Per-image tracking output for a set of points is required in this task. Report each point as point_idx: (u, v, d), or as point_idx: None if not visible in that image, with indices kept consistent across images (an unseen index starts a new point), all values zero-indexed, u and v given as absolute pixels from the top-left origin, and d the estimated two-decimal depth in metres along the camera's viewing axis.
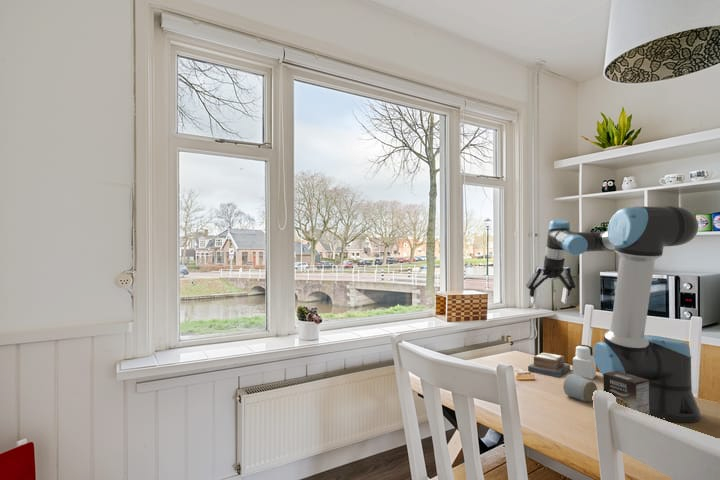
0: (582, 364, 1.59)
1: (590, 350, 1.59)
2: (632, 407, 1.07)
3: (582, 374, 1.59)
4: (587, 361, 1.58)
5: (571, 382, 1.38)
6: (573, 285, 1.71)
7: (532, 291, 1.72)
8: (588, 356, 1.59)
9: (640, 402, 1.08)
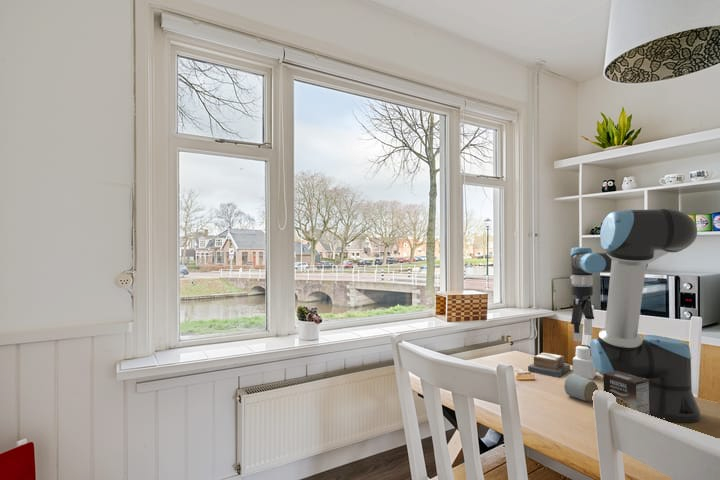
0: (582, 364, 1.59)
1: (590, 350, 1.60)
2: (632, 407, 1.08)
3: (582, 374, 1.59)
4: (587, 361, 1.58)
5: (572, 382, 1.38)
6: (592, 314, 1.68)
7: (578, 326, 1.57)
8: (588, 356, 1.59)
9: (640, 402, 1.08)
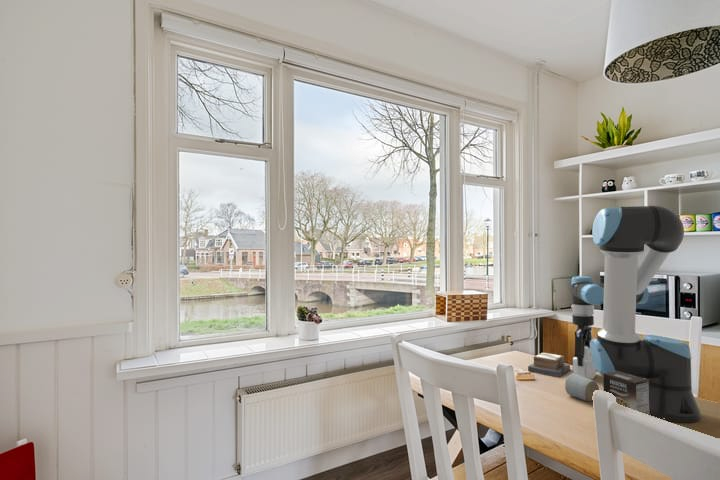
0: None
1: None
2: (632, 407, 1.08)
3: (582, 374, 1.59)
4: (587, 361, 1.58)
5: (573, 382, 1.38)
6: None
7: (581, 360, 1.58)
8: (588, 356, 1.59)
9: (640, 402, 1.08)
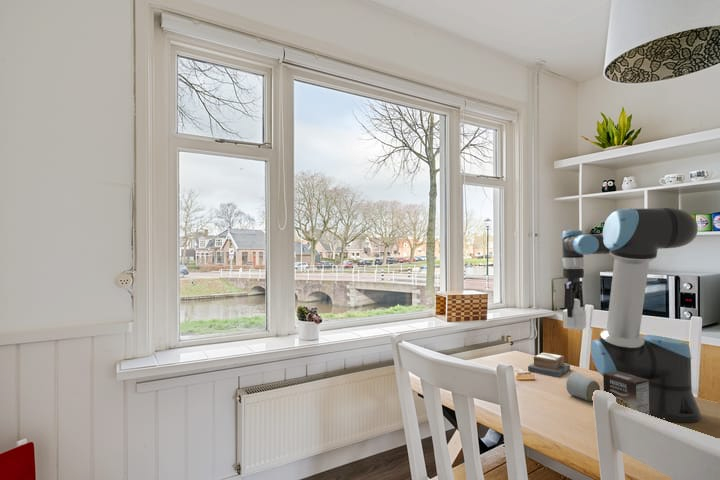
0: None
1: (580, 302, 1.62)
2: (632, 407, 1.08)
3: None
4: (577, 312, 1.61)
5: (574, 381, 1.38)
6: (582, 301, 1.68)
7: (571, 311, 1.61)
8: (578, 308, 1.62)
9: (640, 402, 1.08)
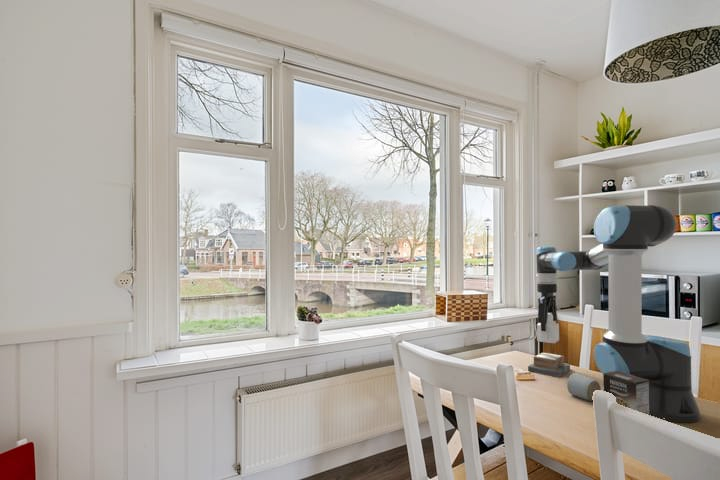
0: None
1: (553, 316, 1.68)
2: (632, 407, 1.07)
3: (545, 339, 1.68)
4: (550, 326, 1.67)
5: (575, 381, 1.38)
6: (556, 314, 1.74)
7: (544, 325, 1.66)
8: (551, 322, 1.67)
9: (640, 402, 1.08)
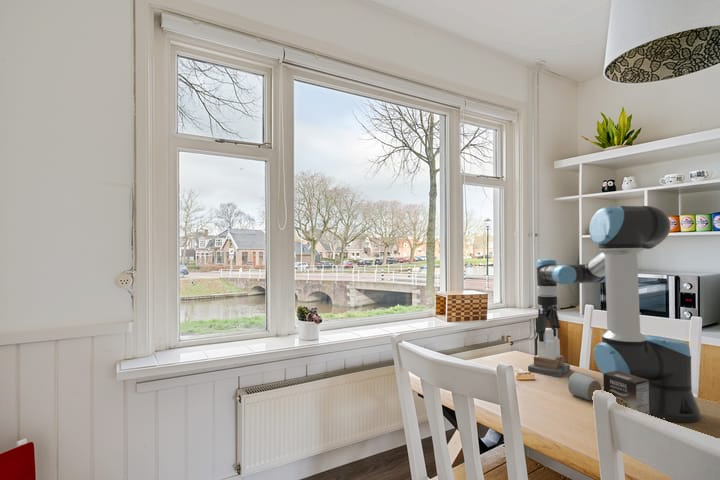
0: (546, 345, 1.67)
1: (553, 331, 1.67)
2: (632, 407, 1.08)
3: (545, 354, 1.67)
4: (550, 341, 1.66)
5: (575, 381, 1.39)
6: (558, 323, 1.76)
7: (542, 335, 1.64)
8: (551, 337, 1.67)
9: (640, 402, 1.08)
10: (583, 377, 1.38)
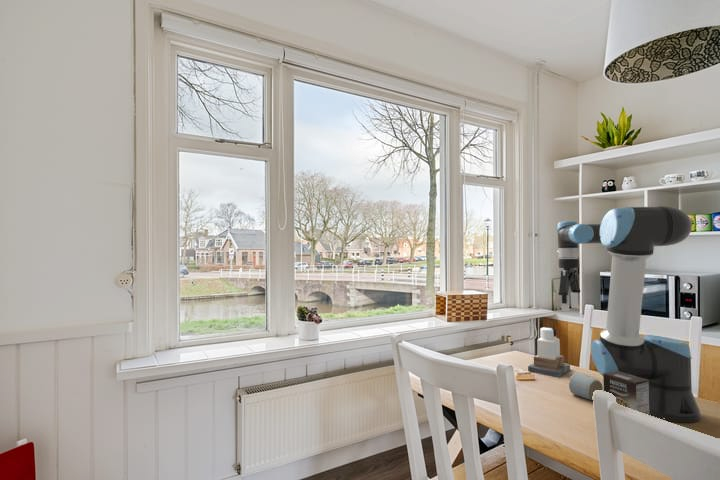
0: (546, 345, 1.67)
1: (553, 331, 1.67)
2: (632, 407, 1.07)
3: (545, 354, 1.67)
4: (550, 341, 1.66)
5: (577, 381, 1.39)
6: (578, 287, 1.73)
7: (565, 297, 1.61)
8: (551, 337, 1.67)
9: (640, 402, 1.08)
10: (584, 377, 1.39)
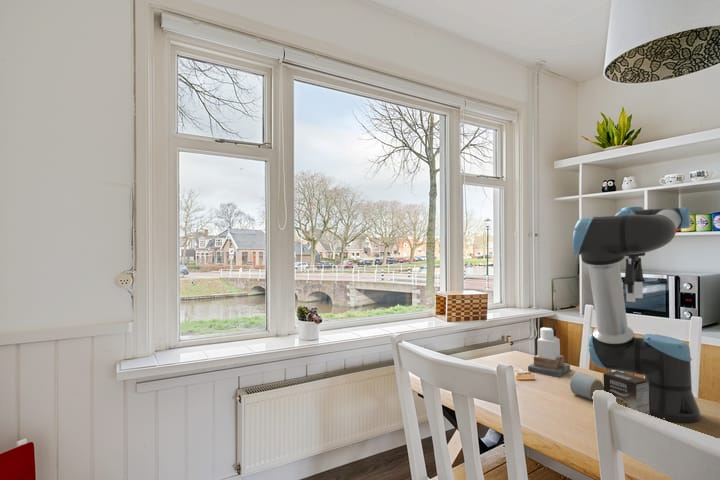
0: (546, 345, 1.67)
1: (553, 331, 1.67)
2: (632, 407, 1.07)
3: (545, 354, 1.67)
4: (550, 341, 1.66)
5: (578, 380, 1.39)
6: (642, 276, 1.64)
7: (632, 286, 1.52)
8: (551, 337, 1.67)
9: (640, 402, 1.08)
10: (585, 377, 1.39)
